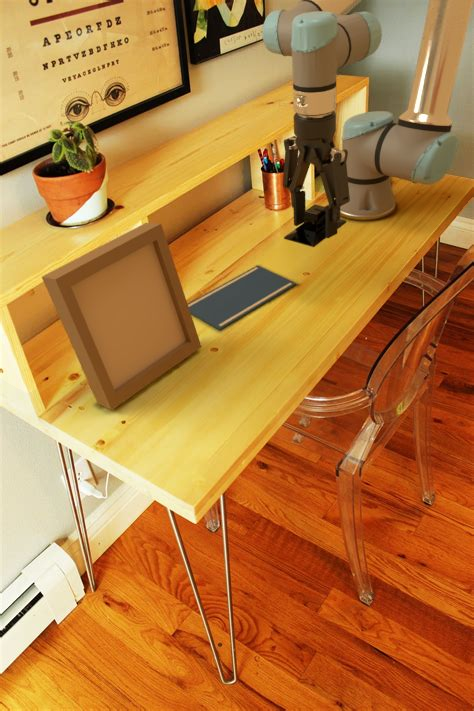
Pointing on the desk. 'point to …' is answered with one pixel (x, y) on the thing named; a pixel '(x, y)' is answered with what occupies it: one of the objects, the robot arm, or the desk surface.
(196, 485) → the desk surface
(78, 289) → the photo frame
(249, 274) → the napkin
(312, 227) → the build plate
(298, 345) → the desk surface
